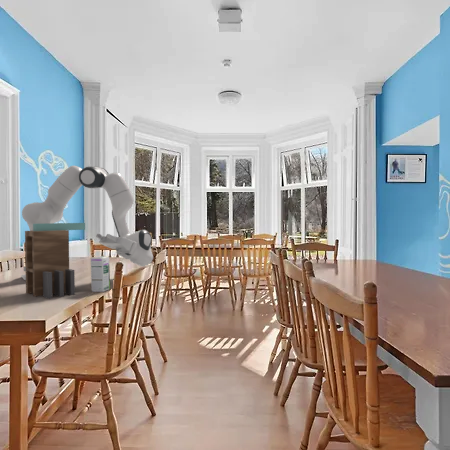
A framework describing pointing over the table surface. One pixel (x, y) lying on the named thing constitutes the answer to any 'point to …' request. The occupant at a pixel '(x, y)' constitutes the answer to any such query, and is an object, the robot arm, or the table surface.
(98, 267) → the syrup box
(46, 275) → the domino
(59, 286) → the domino
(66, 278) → the domino
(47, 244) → the walnut stand
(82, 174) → the robot arm
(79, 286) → the table surface
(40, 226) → the teal tile bar
